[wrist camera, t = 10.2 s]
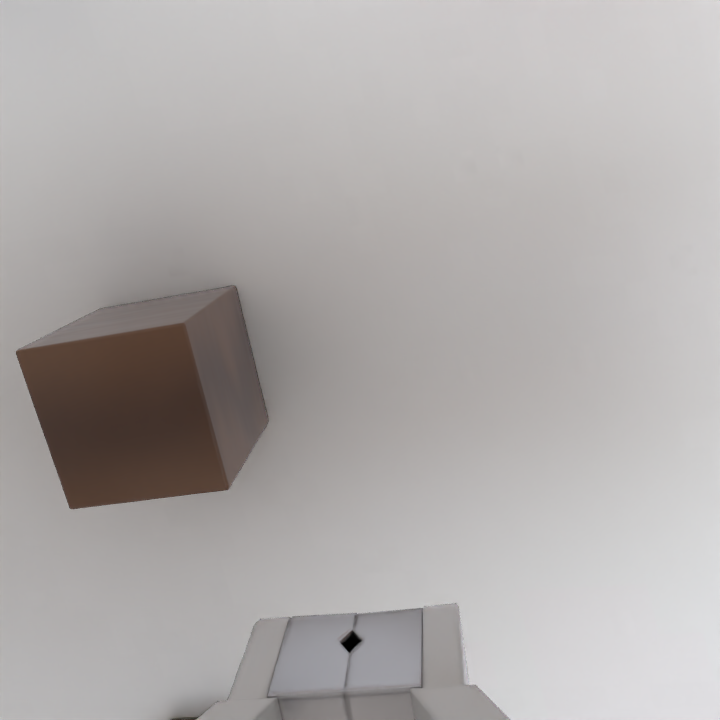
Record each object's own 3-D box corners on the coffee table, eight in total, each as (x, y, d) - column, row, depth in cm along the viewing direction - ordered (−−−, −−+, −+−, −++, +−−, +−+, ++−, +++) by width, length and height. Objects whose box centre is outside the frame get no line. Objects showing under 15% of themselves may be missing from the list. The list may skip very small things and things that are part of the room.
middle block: (269, 422, 24) (229, 491, 19) (138, 440, 25) (69, 510, 20) (236, 284, 23) (183, 322, 18) (98, 308, 23) (13, 350, 19)
